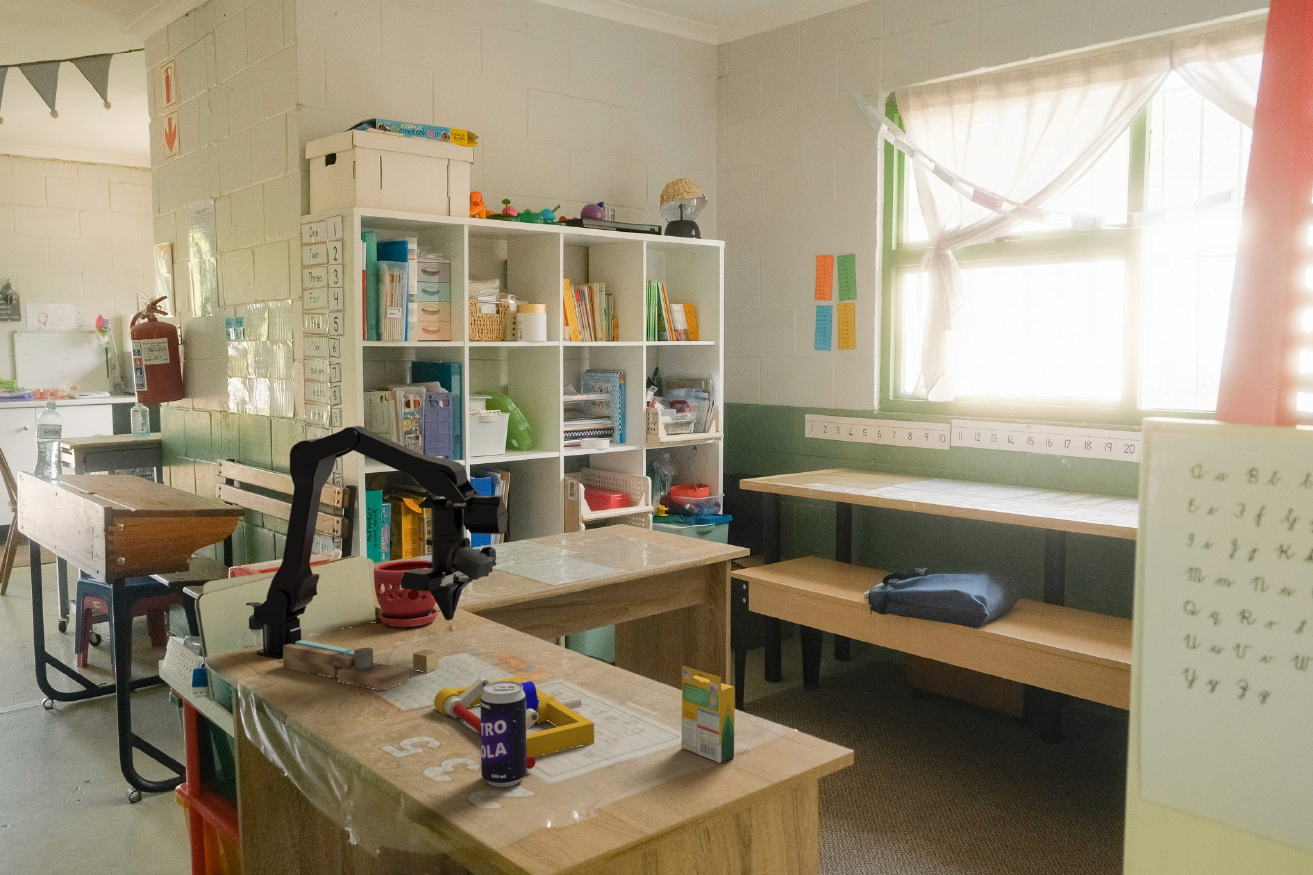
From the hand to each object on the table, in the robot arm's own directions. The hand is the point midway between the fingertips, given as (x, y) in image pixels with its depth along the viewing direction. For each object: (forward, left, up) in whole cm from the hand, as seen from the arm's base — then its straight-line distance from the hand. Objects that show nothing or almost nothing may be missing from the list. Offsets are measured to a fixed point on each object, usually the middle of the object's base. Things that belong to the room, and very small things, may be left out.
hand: (448, 619), depth 174 cm
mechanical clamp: (+31, -20, -8) cm, 38 cm away
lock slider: (0, -6, -7) cm, 10 cm away
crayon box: (+59, -17, -8) cm, 62 cm away
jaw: (-15, -14, -7) cm, 22 cm away
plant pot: (-24, +17, -8) cm, 30 cm away
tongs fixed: (-10, -15, -7) cm, 20 cm away
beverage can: (+39, -37, -8) cm, 54 cm away
